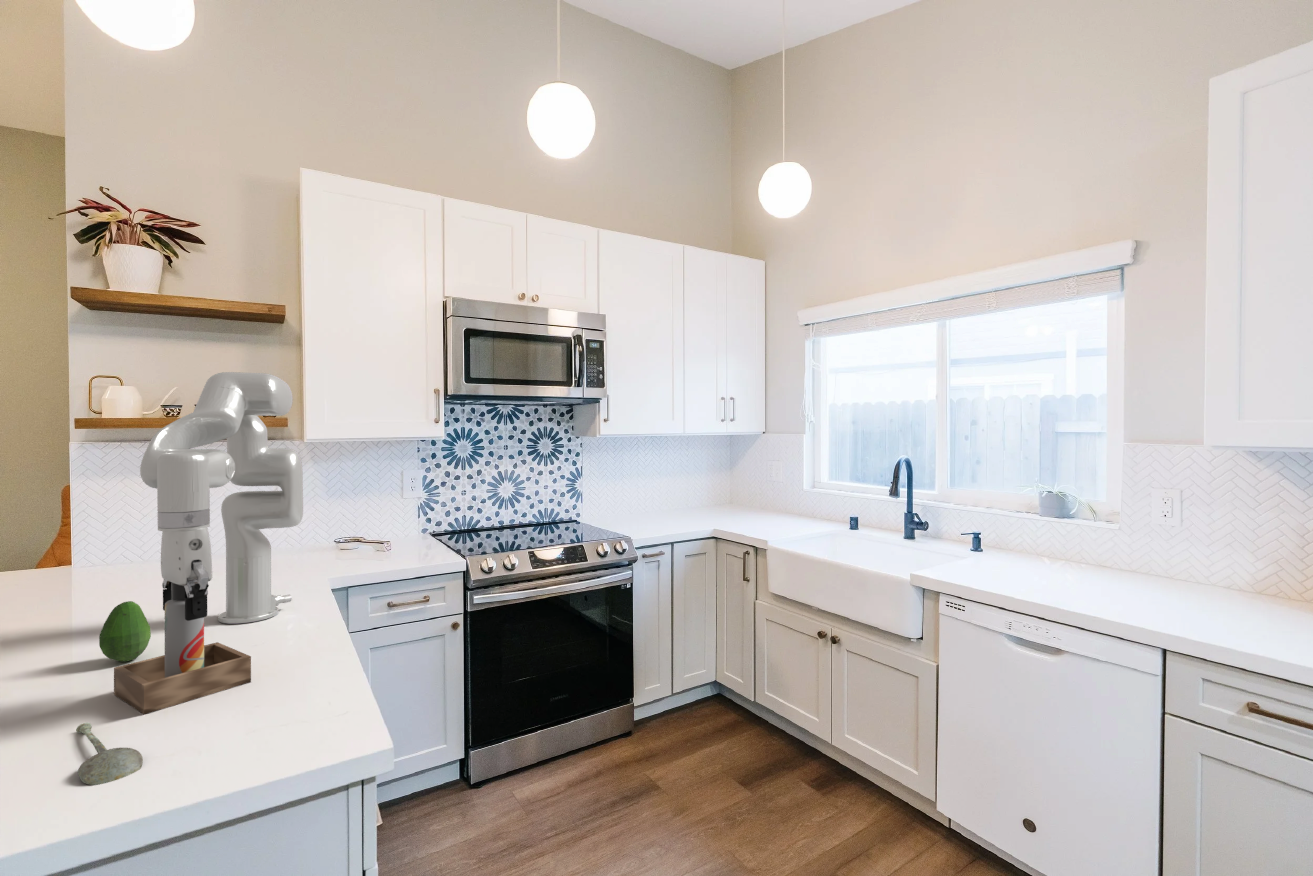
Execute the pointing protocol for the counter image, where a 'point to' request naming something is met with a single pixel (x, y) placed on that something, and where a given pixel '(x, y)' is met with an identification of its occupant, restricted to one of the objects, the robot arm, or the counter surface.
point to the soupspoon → (107, 761)
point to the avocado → (125, 632)
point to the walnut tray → (180, 679)
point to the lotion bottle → (182, 636)
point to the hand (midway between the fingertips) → (184, 613)
